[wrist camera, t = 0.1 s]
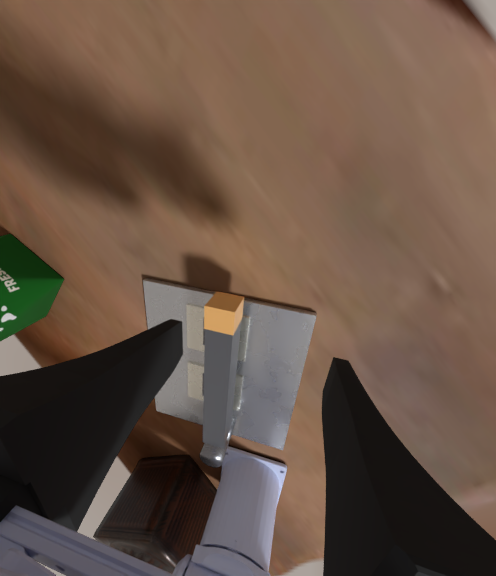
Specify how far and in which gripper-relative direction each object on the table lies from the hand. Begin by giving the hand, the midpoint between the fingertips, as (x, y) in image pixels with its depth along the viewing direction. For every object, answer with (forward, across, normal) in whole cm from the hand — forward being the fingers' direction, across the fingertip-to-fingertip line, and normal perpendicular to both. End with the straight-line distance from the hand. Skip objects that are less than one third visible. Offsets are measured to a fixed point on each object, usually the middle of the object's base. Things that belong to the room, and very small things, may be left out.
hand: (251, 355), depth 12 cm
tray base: (+10, +4, +12) cm, 16 cm away
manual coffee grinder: (+10, +9, +38) cm, 40 cm away
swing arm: (+8, +4, +9) cm, 13 cm away
